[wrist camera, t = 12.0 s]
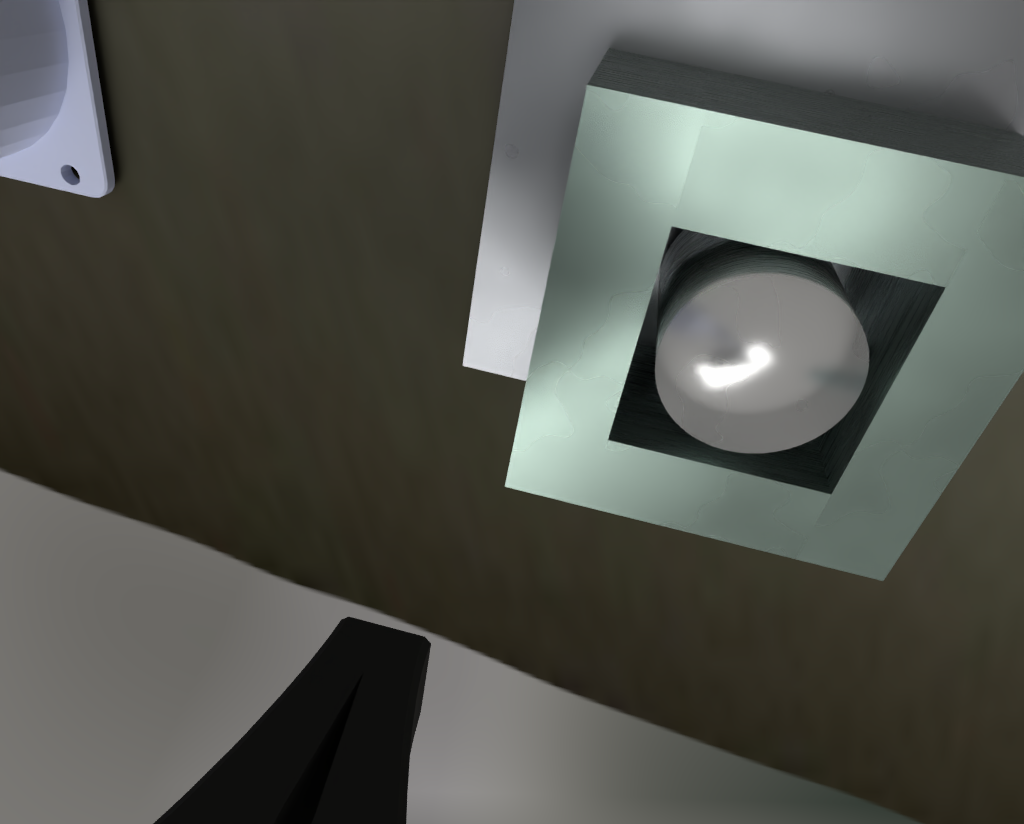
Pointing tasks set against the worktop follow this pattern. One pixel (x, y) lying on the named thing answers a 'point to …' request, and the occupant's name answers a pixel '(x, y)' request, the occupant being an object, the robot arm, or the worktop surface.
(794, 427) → the press pin
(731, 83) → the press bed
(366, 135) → the worktop surface
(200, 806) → the robot arm
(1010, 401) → the worktop surface
